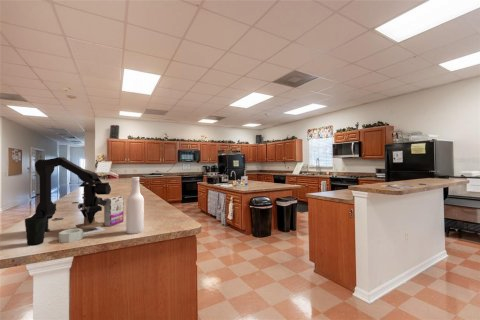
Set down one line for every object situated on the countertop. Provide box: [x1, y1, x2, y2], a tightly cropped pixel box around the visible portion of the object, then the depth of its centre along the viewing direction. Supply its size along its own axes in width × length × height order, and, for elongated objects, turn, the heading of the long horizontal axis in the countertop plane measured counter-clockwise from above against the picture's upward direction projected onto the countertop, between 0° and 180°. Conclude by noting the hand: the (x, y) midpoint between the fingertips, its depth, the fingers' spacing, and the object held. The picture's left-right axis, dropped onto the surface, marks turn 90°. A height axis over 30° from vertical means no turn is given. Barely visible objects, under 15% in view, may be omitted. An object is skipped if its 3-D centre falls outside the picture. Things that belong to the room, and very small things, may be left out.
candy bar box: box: [103, 195, 124, 227], centre depth 141 cm, size 11×5×16 cm, turn 168°
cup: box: [24, 216, 47, 247], centre depth 105 cm, size 8×8×12 cm
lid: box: [75, 216, 104, 230], centre depth 126 cm, size 10×10×5 cm
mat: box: [83, 226, 107, 236], centre depth 126 cm, size 14×12×1 cm
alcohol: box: [125, 176, 145, 235], centre depth 124 cm, size 9×9×30 cm
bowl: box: [57, 228, 84, 244], centre depth 111 cm, size 9×9×4 cm
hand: (89, 222), depth 126 cm, fingers closed on lid, 4 cm apart
